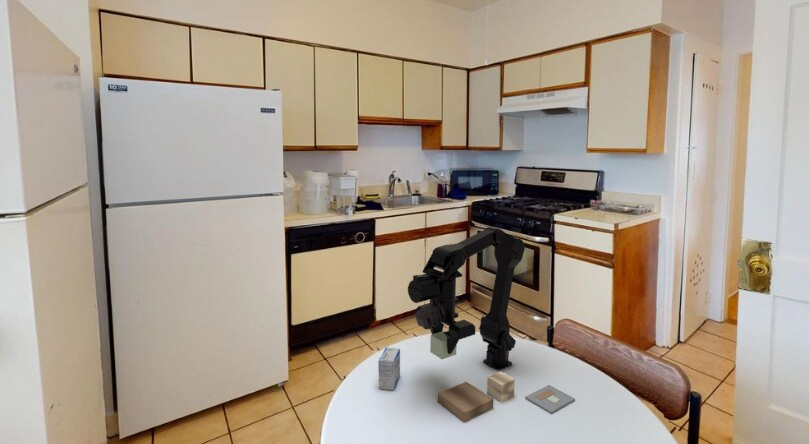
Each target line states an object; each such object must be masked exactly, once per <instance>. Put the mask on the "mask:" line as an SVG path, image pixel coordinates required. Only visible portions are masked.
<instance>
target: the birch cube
mask: <svg viewBox="0 0 809 444" xmlns="http://www.w3.org/2000/svg"><path fill="white" fill-rule="evenodd" d="M515 381H516V379H515V378H514V377H511V375H510V376H509V375H508V374H506V373H504V372H502V371H500V370H499V371H498V372H495V373H493V374H491V375H489V376H487V382H486V385H487V387H486V395H488V396H489V397H491V398H493V399H494V400H496V401H498V402H500V403H503V402H506V401H507V400H509V399H511V398H513V397H514V396H515V387H516V386H515V383H516V382H515Z"/></svg>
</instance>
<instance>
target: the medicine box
mask: <svg viewBox="0 0 809 444" xmlns="http://www.w3.org/2000/svg"><path fill="white" fill-rule="evenodd" d="M383 350H384V351H383V352H382V353H381V356H380V357H379V359H378V363H377V364H378V365H377V366H378V370H377V371H378V389H379V390H387V391H395V389H396V387H397V385H398V381H399V379H400V378H401V349H400V348H398V347H384V349H383Z"/></svg>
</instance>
